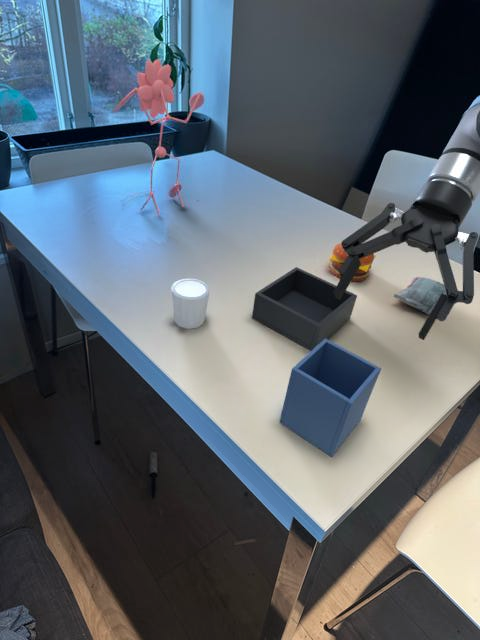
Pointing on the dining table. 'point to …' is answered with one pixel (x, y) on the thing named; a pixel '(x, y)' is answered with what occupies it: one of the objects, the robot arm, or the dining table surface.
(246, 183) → the dining table surface
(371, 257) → the hamburger
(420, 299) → the packaged food
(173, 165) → the dining table surface
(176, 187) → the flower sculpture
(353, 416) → the blue bin
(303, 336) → the charcoal bin
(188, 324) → the white cup
